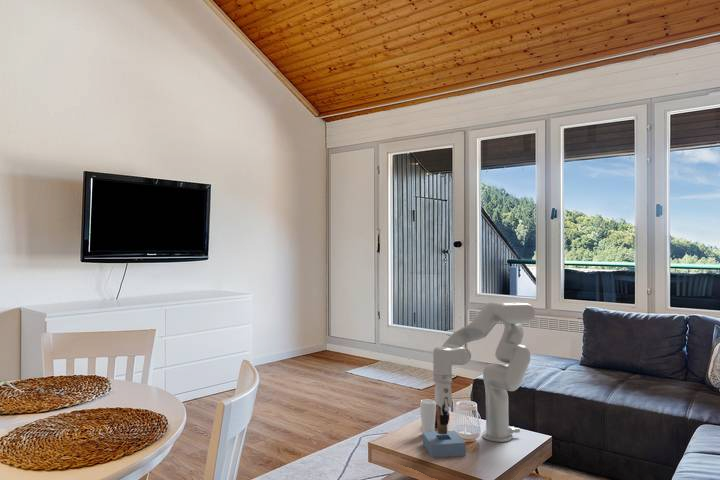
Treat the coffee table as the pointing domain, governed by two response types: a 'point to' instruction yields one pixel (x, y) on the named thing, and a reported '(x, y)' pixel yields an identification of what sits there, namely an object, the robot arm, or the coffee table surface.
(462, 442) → the socket block
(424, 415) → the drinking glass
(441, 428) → the walnut pin
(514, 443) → the coffee table surface
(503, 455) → the coffee table surface
